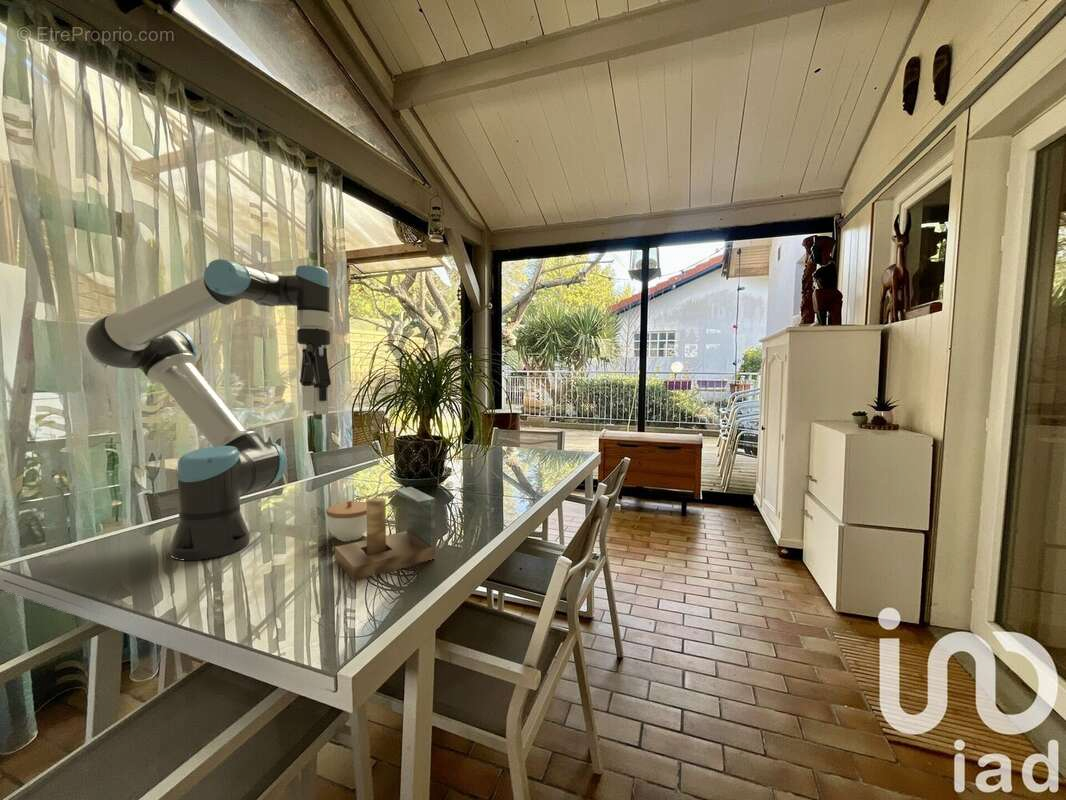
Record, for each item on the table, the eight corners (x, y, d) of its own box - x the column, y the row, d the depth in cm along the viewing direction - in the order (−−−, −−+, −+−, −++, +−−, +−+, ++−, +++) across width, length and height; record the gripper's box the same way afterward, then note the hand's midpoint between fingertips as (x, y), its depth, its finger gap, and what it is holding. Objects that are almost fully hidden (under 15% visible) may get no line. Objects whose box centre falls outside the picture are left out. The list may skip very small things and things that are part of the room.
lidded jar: (380, 533, 116) (380, 498, 115) (348, 548, 106) (347, 509, 106) (351, 527, 121) (350, 493, 120) (317, 540, 111) (316, 503, 110)
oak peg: (370, 567, 96) (370, 504, 95) (364, 561, 99) (363, 499, 98) (388, 562, 99) (388, 500, 98) (382, 556, 102) (381, 496, 101)
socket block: (353, 581, 89) (353, 513, 89) (335, 560, 99) (334, 498, 99) (435, 559, 101) (435, 498, 100) (410, 541, 111) (410, 486, 110)
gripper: (344, 326, 105) (344, 415, 107) (317, 333, 125) (317, 408, 126) (309, 324, 101) (310, 416, 102) (287, 331, 120) (288, 409, 121)
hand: (314, 412), depth 114 cm, fingers open, 13 cm apart
